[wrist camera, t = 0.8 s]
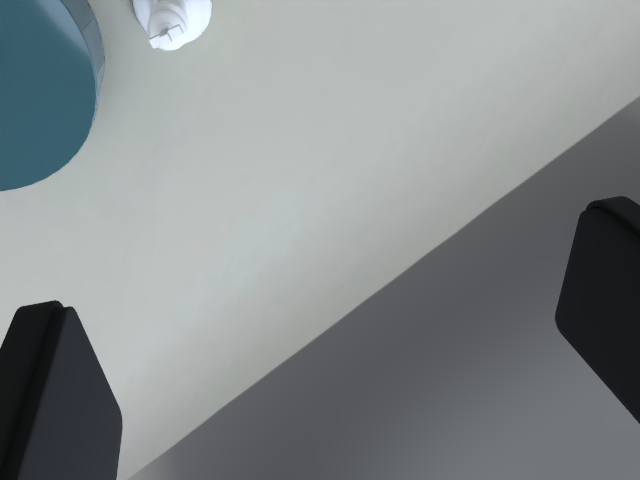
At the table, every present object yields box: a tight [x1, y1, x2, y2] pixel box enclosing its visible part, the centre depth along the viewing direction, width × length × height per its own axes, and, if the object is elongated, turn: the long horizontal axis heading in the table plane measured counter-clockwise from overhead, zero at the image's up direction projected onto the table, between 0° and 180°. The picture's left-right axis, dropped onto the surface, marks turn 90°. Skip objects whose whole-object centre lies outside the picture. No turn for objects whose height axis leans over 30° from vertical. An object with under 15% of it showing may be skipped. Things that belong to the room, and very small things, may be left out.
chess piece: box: [132, 0, 212, 50], centre depth 29 cm, size 5×5×10 cm
